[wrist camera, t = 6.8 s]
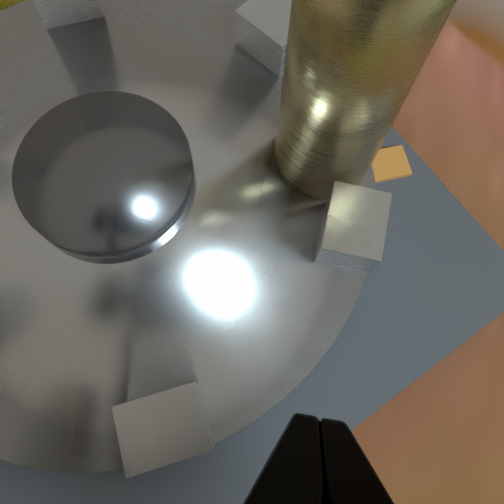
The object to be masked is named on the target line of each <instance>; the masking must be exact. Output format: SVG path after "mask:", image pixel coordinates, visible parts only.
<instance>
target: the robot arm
mask: <svg viewBox="0 0 504 504" xmlns="http://www.w3.org/2000/svg"><path fill="white" fill-rule="evenodd" d="M243 504H394V503H393V501H392V499H391V498H390V496H389V494H388V492H387V491H386V489H385V487H384V486H383V484H382V482H381V481H380V479H379V477H378V476H377V474H376V472H375V471H374V469H373V467H372V466H371V464H370V462H369V461H368V459H367V457H366V456H365V454H364V452H363V451H362V449H361V447H360V446H359V444H358V442H357V441H356V439H355V437H354V436H353V434H352V432H351V431H350V429H349V427H348V426H347V424H346V423H345V422H343V421H340V420H335V419H330V418H324V417H323V418H320V419H319V420H318V418H317V417H316V416H314V415H308V414H303V413H298V412H296V413H294V414H292V416H291V418H290V419H289V421H288V423H287V425H286V427H285V429H284V430H283V432H282V434H281V436H280V438H279V439H278V441H277V443H276V445H275V447H274V449H273V450H272V452H271V454H270V456H269V458H268V459H267V461H266V463H265V465H264V467H263V468H262V470H261V472H260V474H259V476H258V478H257V479H256V481H255V483H254V485H253V487H252V488H251V490H250V492H249V494H248V496H247V498H246V499H245V501H244V503H243Z"/></svg>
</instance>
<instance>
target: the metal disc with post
mask: <svg viewBox="0 0 504 504" xmlns="http://www.w3.org/2000/svg"><path fill="white" fill-rule="evenodd" d="M456 2H457V0H247V1H246V2H245V3H244V4H243V5H242V4H240V3H237V2H234V1H232V0H26V1H23V2H20V3H18V4H15V5H12V6H10V7H8V8H6V9H4V10H2V11H0V459H1V460H4V461H7V462H10V463H12V464H17V465H22V466H28V467H33V468H39V469H44V470H50V471H60V472H87V473H98V472H107V471H117V470H124V472H125V477H126V478H129V477H132V476H135V475H138V474H141V473H144V472H148V471H151V470H154V469H157V468H160V467H163V466H166V465H169V464H172V463H175V462H179V461H182V460H185V459H188V458H191V457H194V456H197V455H200V454H203V453H206V452H209V451H212V450H213V448H214V447H215V443H217V442H219V441H220V440H222V439H224V438H226V437H227V436H229V435H231V434H233V433H235V432H236V431H238V430H240V429H242V428H243V427H245V426H247V425H249V424H250V423H252V422H254V421H255V420H256V419H257V418H259V417H260V416H261V415H263V414H264V413H265V412H267V411H268V410H269V409H271V408H272V407H273V406H275V405H276V404H277V403H279V402H280V401H281V400H283V399H284V398H285V397H286V396H287V395H288V394H289V393H290V392H291V391H292V390H293V389H294V388H295V387H296V386H297V385H298V384H299V383H300V382H301V381H302V380H303V379H304V378H305V377H306V376H307V375H308V374H309V373H310V372H311V371H312V370H313V369H314V367H315V366H316V365H317V363H318V362H319V361H320V359H321V358H322V357H323V356H324V354H325V353H326V352H327V350H328V349H329V348H330V346H331V345H332V344H333V342H334V341H335V339H336V338H337V336H338V334H339V332H340V331H341V329H342V327H343V325H344V324H345V322H346V320H347V318H348V317H349V315H350V313H351V311H352V309H353V307H354V305H355V302H356V300H357V297H358V295H359V292H360V289H361V287H362V284H363V282H364V279H365V277H366V275H369V274H370V273H371V272H372V271H373V270H374V269H375V268H376V267H377V266H378V265H379V263H380V262H381V261H382V255H383V248H384V242H385V236H386V229H387V223H388V217H389V210H390V204H391V198H392V193H389V192H384V191H380V190H376V189H375V177H374V172H373V167H372V163H373V161H374V159H375V157H376V155H377V153H378V151H379V149H380V147H381V146H382V144H383V142H384V140H385V138H386V136H387V134H388V132H389V130H390V128H391V126H392V124H393V122H394V121H395V119H396V117H397V115H398V113H399V111H400V109H401V107H402V105H403V103H404V101H405V99H406V98H407V96H408V94H409V92H410V90H411V88H412V86H413V84H414V82H415V80H416V78H417V76H418V75H419V73H420V71H421V69H422V67H423V65H424V63H425V61H426V59H427V57H428V55H429V53H430V52H431V50H432V48H433V46H434V44H435V42H436V40H437V38H438V36H439V34H440V32H441V30H442V29H443V27H444V25H445V23H446V21H447V19H448V17H449V15H450V13H451V11H452V9H453V7H454V6H455V3H456Z"/></svg>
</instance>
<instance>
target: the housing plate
mask: <svg viewBox="0 0 504 504" xmlns="http://www.w3.org/2000/svg"><path fill="white" fill-rule="evenodd" d="M232 1H234V2H237V3H240V4H242V5H243V4H244V3H245V2H246V1H247V0H232ZM372 167H373V172H374V177H375V189H376V190H380V191H384V192H389V193H392V198H391V204H390V210H389V217H388V223H387V229H386V236H385V242H384V248H383V255H382V261H381V262H380V263H379V265H378V266H377V267H376V268H375V269H374V270H373V271H372V272H371V273H370V274H369V275H366V277H365V279H364V282H363V284H362V287H361V289H360V292H359V295H358V297H357V300H356V302H355V305H354V307H353V309H352V311H351V313H350V315H349V317H348V318H347V320H346V322H345V324H344V325H343V327H342V329H341V331H340V332H339V334H338V336H337V338H336V339H335V341H334V342H333V344H332V345H331V346H330V348H329V349H328V350H327V352H326V353H325V354H324V356H323V357H322V358H321V359H320V361H319V362H318V363H317V365H316V366H315V367H314V369H313V370H312V371H311V372H310V373H309V374H308V375H307V376H306V377H305V378H304V379H303V380H302V381H301V382H300V383H299V384H298V385H297V386H296V387H295V388H294V389H293V390H292V391H291V392H290V393H289V394H288V395H287V396H286V397H285V398H284V399H283V400H281V401H280V402H279V403H277V404H276V405H275V406H273V407H272V408H271V409H269V410H268V411H267V412H265V413H264V414H263V415H261V416H260V417H259V418H257V419H256V420H255V421H254V422H252V423H250V424H249V425H247V426H245V427H243V428H242V429H240V430H238V431H236V432H235V433H233V434H231V435H229V436H227V437H226V438H224V439H222V440H220V441H219V442H217V443H215V447H214V448H213V450H212V451H209V452H206V453H203V454H200V455H197V456H194V457H191V458H188V459H185V460H182V461H179V462H175V463H172V464H169V465H166V466H163V467H160V468H157V469H154V470H151V471H148V472H144V473H141V474H138V475H135V476H132V477H129V478H126V477H125V472H124V470H117V471H107V472H98V473H87V472H60V471H50V470H44V469H39V468H33V467H28V466H22V465H17V464H12V463H10V462H7V461H4V460H1V459H0V504H243V503H244V501H245V499H246V498H247V496H248V494H249V492H250V490H251V488H252V487H253V485H254V483H255V481H256V479H257V478H258V476H259V474H260V472H261V470H262V468H263V467H264V465H265V463H266V461H267V459H268V458H269V456H270V454H271V452H272V450H273V449H274V447H275V445H276V443H277V441H278V439H279V438H280V436H281V434H282V432H283V430H284V429H285V427H286V425H287V423H288V421H289V419H290V418H291V416H292V414H294V413H296V412H298V413H303V414H308V415H314V416H316V417H317V418H318V420H319V419H320V418H323V417H324V418H330V419H335V420H340V421H343V422H345V423H346V424H347V426H348V427H349V429H350V431H351V430H352V429H353V428H354V427H356V426H357V425H358V424H360V423H361V422H362V421H363V420H365V419H366V418H367V417H369V416H370V415H371V414H372V413H374V412H375V411H376V410H378V409H379V408H380V407H381V406H383V405H384V404H385V403H387V402H388V401H389V400H390V399H392V398H393V397H394V396H396V395H397V394H398V393H399V392H401V391H402V390H403V389H405V388H406V387H407V386H408V385H410V384H411V383H412V382H414V381H415V380H416V379H417V378H419V377H420V376H421V375H423V374H424V373H425V372H426V371H428V370H429V369H430V368H432V367H433V366H434V365H435V364H437V363H438V362H439V361H440V360H442V359H443V358H444V357H446V356H447V355H448V354H449V353H451V352H452V351H453V350H455V349H456V348H457V347H458V346H460V345H461V344H462V343H464V342H465V341H466V340H467V339H469V338H470V337H471V336H473V335H474V334H475V333H476V332H478V331H479V330H480V329H482V328H483V327H484V326H485V325H487V324H488V323H489V322H491V321H492V320H493V319H494V318H496V317H497V316H498V315H500V314H501V313H502V312H503V311H504V251H503V250H502V249H501V248H500V247H499V246H498V245H497V243H496V242H495V241H494V240H493V239H492V238H491V237H490V236H489V235H488V233H487V232H486V231H485V230H484V229H483V228H482V227H481V226H480V224H479V223H478V222H477V221H476V220H475V219H474V218H473V217H472V215H471V214H470V213H469V212H468V211H467V210H466V209H465V208H464V207H463V205H462V204H461V203H460V202H459V201H458V200H457V199H456V198H455V196H454V195H453V194H452V193H451V192H450V191H449V190H448V189H447V188H446V186H445V185H444V184H443V183H442V182H441V181H440V180H439V179H438V177H437V176H436V175H435V174H434V173H433V172H432V171H431V170H430V168H429V167H428V166H427V165H426V164H425V163H424V162H423V161H422V160H421V158H420V157H419V156H418V155H417V154H416V153H415V152H414V151H413V149H412V148H411V147H410V146H409V145H408V144H407V143H406V142H405V141H404V139H403V138H402V137H401V136H400V135H399V134H398V133H397V132H396V130H395V129H394V128H393V127H392V126H391V128H390V130H389V132H388V134H387V136H386V138H385V140H384V142H383V144H382V146H381V147H380V149H379V151H378V153H377V155H376V157H375V159H374V161H373V163H372Z"/></svg>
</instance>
